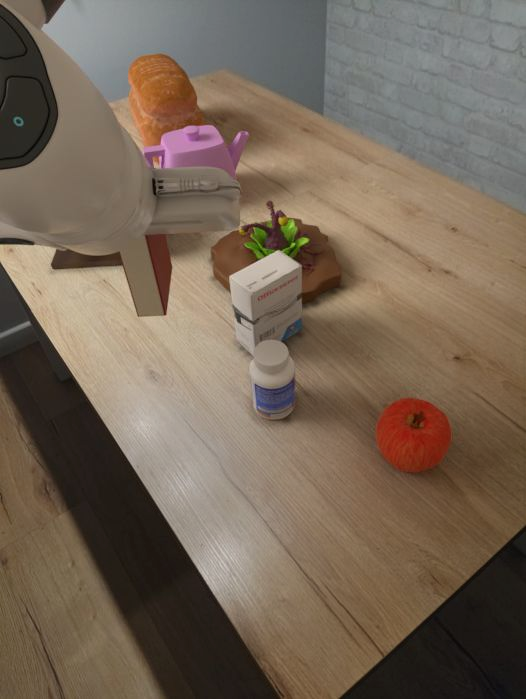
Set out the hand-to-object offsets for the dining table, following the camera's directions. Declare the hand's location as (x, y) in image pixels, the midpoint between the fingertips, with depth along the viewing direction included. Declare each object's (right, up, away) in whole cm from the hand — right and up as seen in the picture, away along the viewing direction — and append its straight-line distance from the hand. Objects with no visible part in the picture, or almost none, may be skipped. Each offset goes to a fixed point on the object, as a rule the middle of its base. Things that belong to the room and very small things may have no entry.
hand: (137, 226), depth 49 cm
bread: (-9, +36, +67) cm, 76 cm away
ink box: (+13, -10, +24) cm, 29 cm away
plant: (+14, +1, +34) cm, 37 cm away
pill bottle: (+13, -19, +16) cm, 28 cm away
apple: (+29, -24, +11) cm, 39 cm away
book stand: (-15, +6, +40) cm, 43 cm away
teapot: (0, +18, +50) cm, 54 cm away
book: (0, -5, +7) cm, 9 cm away
